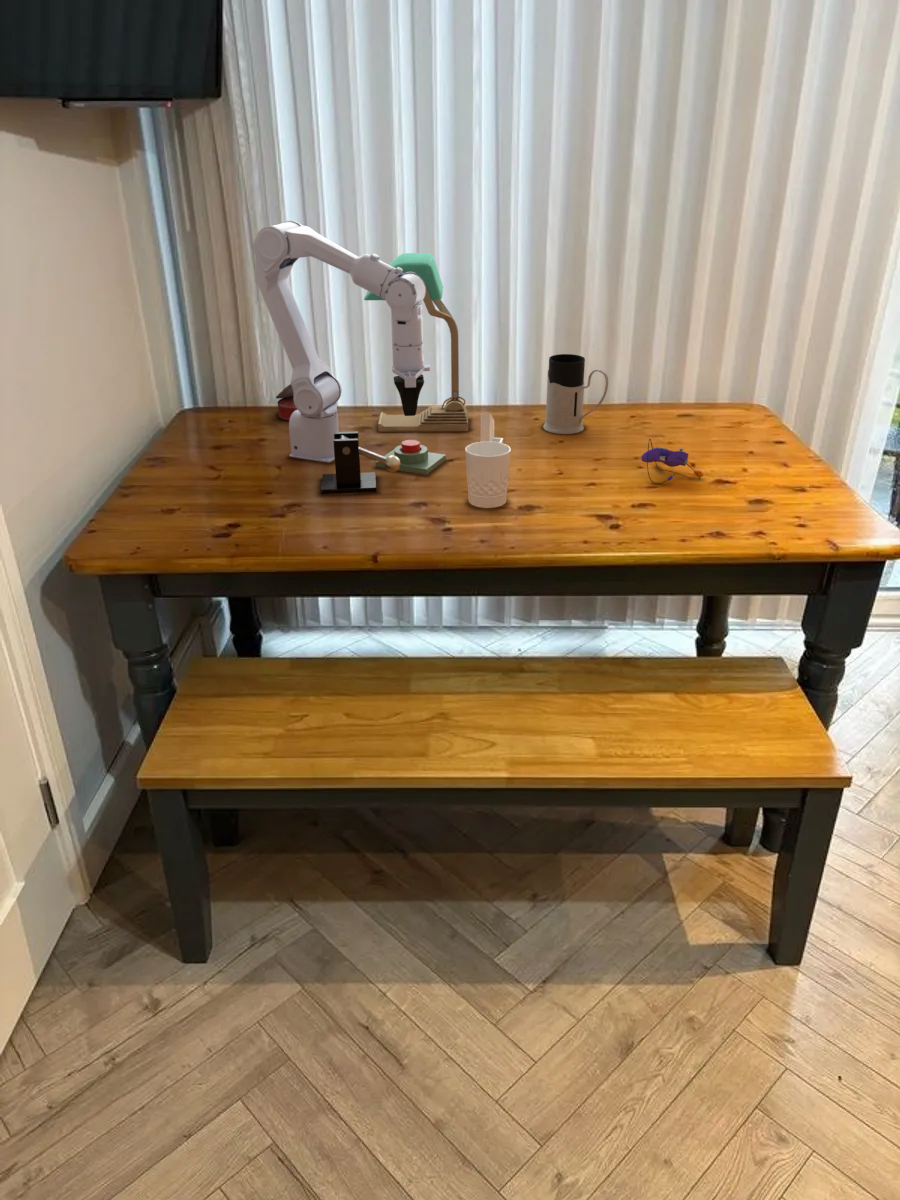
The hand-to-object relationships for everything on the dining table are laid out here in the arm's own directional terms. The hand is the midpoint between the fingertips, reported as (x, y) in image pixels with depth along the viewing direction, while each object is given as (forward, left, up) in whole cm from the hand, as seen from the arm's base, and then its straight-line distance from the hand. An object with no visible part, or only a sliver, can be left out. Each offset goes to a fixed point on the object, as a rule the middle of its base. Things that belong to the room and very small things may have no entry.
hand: (409, 414), depth 181 cm
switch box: (0, 0, -10) cm, 10 cm away
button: (0, 0, -7) cm, 7 cm away
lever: (-3, -13, -5) cm, 15 cm away
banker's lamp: (-9, +23, -10) cm, 27 cm away
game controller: (+48, +13, -10) cm, 51 cm away
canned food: (-38, +20, -10) cm, 44 cm away
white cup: (+21, -12, -10) cm, 26 cm away
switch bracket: (-6, -15, -10) cm, 19 cm away
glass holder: (+23, +33, -10) cm, 42 cm away
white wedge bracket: (+13, +10, -10) cm, 19 cm away
